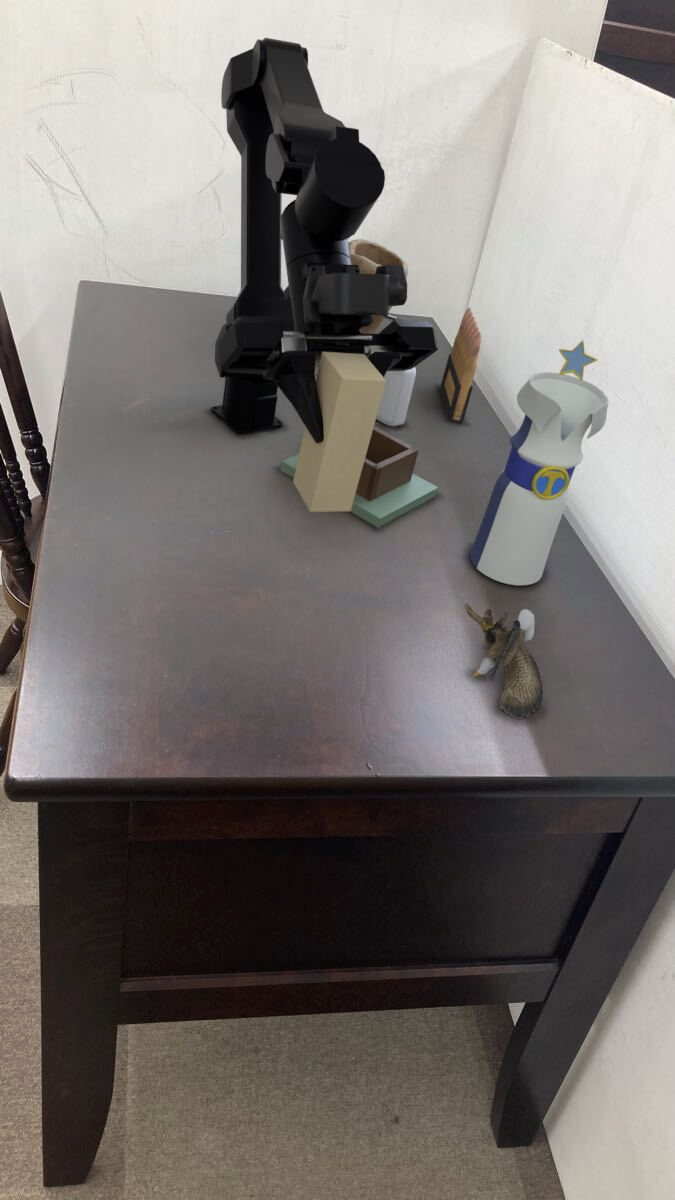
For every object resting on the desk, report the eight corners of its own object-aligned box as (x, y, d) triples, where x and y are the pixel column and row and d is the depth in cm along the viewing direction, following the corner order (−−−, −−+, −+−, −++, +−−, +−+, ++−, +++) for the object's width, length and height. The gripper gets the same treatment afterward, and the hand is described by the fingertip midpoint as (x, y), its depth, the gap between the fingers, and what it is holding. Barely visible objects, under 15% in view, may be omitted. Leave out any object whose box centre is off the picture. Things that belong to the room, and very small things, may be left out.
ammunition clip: (462, 423, 117) (488, 336, 110) (449, 421, 117) (473, 333, 110) (452, 389, 126) (475, 306, 119) (440, 387, 126) (462, 303, 118)
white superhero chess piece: (559, 591, 90) (654, 353, 75) (478, 584, 88) (559, 339, 74) (536, 546, 96) (619, 319, 82) (460, 538, 95) (532, 305, 80)
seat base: (279, 470, 99) (286, 428, 96) (341, 444, 107) (349, 404, 104) (377, 528, 93) (388, 485, 90) (435, 496, 101) (447, 456, 98)
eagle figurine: (433, 636, 79) (469, 693, 71) (488, 576, 77) (531, 628, 69) (490, 675, 82) (530, 734, 74) (544, 619, 80) (590, 673, 73)
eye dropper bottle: (372, 425, 112) (392, 334, 105) (365, 405, 116) (384, 316, 109) (405, 429, 113) (427, 338, 106) (397, 409, 117) (418, 320, 110)
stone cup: (396, 372, 127) (420, 267, 118) (315, 365, 124) (334, 256, 115) (372, 330, 138) (393, 231, 129) (297, 323, 135) (313, 220, 126)
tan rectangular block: (292, 482, 83) (321, 351, 75) (332, 481, 85) (364, 353, 77) (310, 512, 80) (342, 378, 72) (350, 511, 81) (386, 380, 74)
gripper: (244, 213, 67) (271, 416, 66) (457, 229, 75) (483, 412, 74) (206, 277, 77) (229, 454, 76) (397, 286, 85) (419, 447, 84)
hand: (342, 441), depth 77 cm, fingers closed on tan rectangular block, 4 cm apart
